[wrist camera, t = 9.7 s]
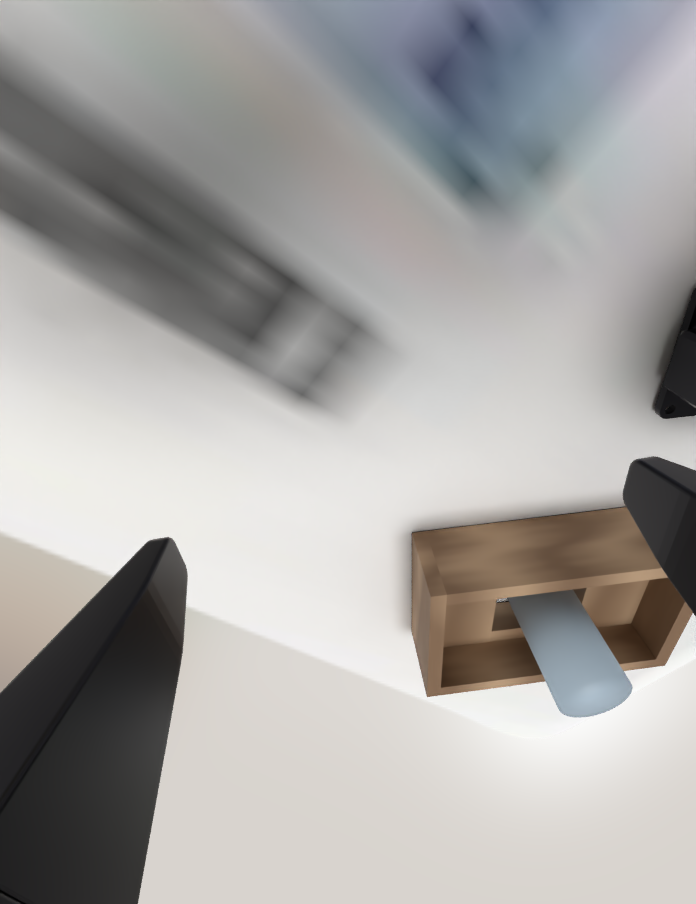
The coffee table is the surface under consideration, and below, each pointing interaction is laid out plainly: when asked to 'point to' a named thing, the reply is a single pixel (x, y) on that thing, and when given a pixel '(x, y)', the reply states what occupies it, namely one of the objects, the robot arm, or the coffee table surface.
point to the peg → (571, 653)
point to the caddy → (534, 572)
